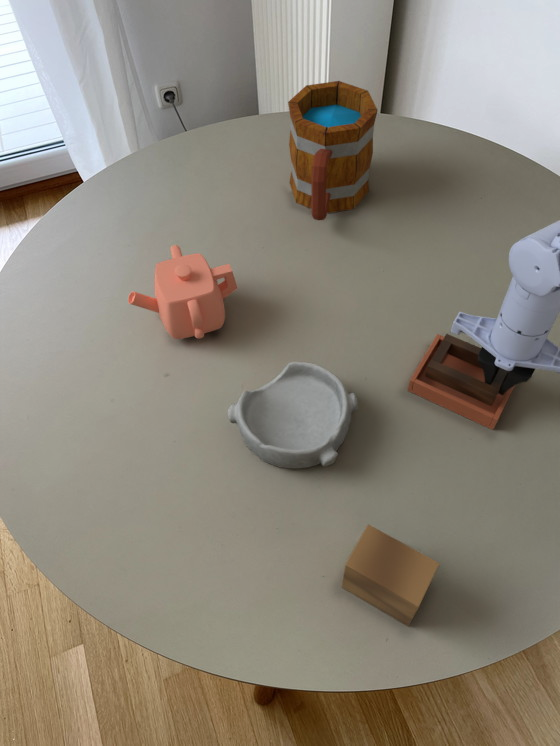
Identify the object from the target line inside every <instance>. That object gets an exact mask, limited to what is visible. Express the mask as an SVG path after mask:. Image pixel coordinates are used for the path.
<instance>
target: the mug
mask: <svg viewBox="0 0 560 746" xmlns="http://www.w3.org/2000/svg"><path fill="white" fill-rule="evenodd" d="M287 104H288V111H289V120H290V121H289V124H290V125H289V126H290V127H289V129H290V131H289V142H288V146H289V147H288V148H289V156H290V175H289V176H290V177H289V185H290V189H291V191H292V195H293V198H294V201H295V203H296V204H298V205H301V206H303V207H305V208H308V209H310V210H311V212H310V213H311V218H313V220H316V221H324V220H325V219H326V218H327V216H328V214H330V213H336V212H337V213H338V212H342V211H350V210H354V209H355V208H356V207H357V206H358V205H359V204H360V202H361V201H362V200H363V199H364V198H365V197H366V196H367V194H368V193H369V192H370V182H369V180H370V178H369V177H370V170H371V164H372V159H373V154H374V131H375V130H374V129H375V122H376V118H377V114H378V108H377V105H376V104H375V101H374V99H373V98H372V95H371V94H370V91H369V90H367V89H364V88H362V87H358V86H356V85H352V84H349V83H346V82H344V81H341V80H336V81H328V82H321V83H314V84H307V85H305V86H304V87H303V88H302V89H300V90H299V92H297V93H296V94H295V95H294V96H293V97H292V98H290V100H289V101H287Z"/></svg>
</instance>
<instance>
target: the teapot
mask: <svg viewBox="0 0 560 746" xmlns="http://www.w3.org/2000/svg"><path fill="white" fill-rule="evenodd" d="M170 253H171V258H169V259H166V260H163V261H159V262H157V263H156V264H155V269H154V295H155V296H154V297H153V296H149V295H146V294H143V293H140V292H137V291H130V293H129V295H128V297H127V303H128V304H129V305H132V306H135V307H138V308H141V309H145V310H148V311H150V312H154V313H158V316H159V318H160V320H161V322H162V323H161V324H162V325H163V327H164V328H165V330H166V332H167V333H168V335H169V336H170V337H171V338H173V339H174V340H181V339H186V338H191V337H195V338H196V339H202V338H204V337H205V334H206V333H207V334H208V333H210V332H214V331H217V330H219V329H221V328H222V327H223V325H224V323H225V320H226V310H225V309H226V308H225V303H224V299H226V298H227V297H228V296H229V295H231V294H232V293H234V292H236V290H238V289H239V288H238V284H237V282H236V278H235V274H234V271H233V269H232V267H231V264H230V263H227V264H223V265H220V266H215V267H210V265H209V263H208V261H207V259H206V258H205V256H204V255H203V254H202V253H200V252H198V253H191V254H186V255H183V253H182V249H181V247H180V246H179V245H178V244H173V245H172V246H171V247H170ZM223 278H224V280H223V281H222V282H219V283H218V280H220V279H223Z"/></svg>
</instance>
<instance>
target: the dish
mask: <svg viewBox="0 0 560 746" xmlns="http://www.w3.org/2000/svg"><path fill="white" fill-rule="evenodd" d="M357 410H358V400H357V396H356V394H355V393H354V392H350V393H349V392H348V391H347V389H346V387H345V385H344V384H343V382H342V381H341V379H339V378H338V376H336V374H334V373H333V372H331V371H330V370H328V369H327V368H325V367H323V366H321V365H318V364H315V363H311V362H305V361H303V362H302V361H290V362H289V363H288V364H287V365H285V367H284V368H283V370H282V371H281V372H280V373H279V374H278V375H276V376H275V378H273V379H272V380H271V381H268V383H266V384H264V385H262V386H260V387H259V388H256V389H252V390H244V391H242V393H241V395H240V396H239V398H238V401H237V402H236V403H231V404H230V405H229V407H228V408H227V418H228V420H229V423H231V424H236V425H237V427H238V430H239V433H240V435H241V437H242V440H243V442H244V443H245V445H246V446H247V448H248V449H249V450H250V451H251V452H252V454H254V455H255V456H256V457H257V458H258V459H260V460H262V462H265V463H267V464H270V465H272V466H275V467H279V468H282V469H283V468H285V469H305V468H311V467H314V466H318V465H319V464H321V465H322V466H323V467H327V466H330V465H333V464H334V463H335V462H336V459H337V457H338V455H339V453H338V451H337V450H338V449H339V448H340V446H342V444H343V442H344V440H345V439H346V436H347V434H348V431H349V429H350V425H351V419H352V413H353V412H356V411H357Z"/></svg>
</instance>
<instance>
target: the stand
mask: <svg viewBox="0 0 560 746" xmlns="http://www.w3.org/2000/svg"><path fill="white" fill-rule="evenodd" d="M439 566H440V562H438V561H436V560H435V559H433V558H431V557H429V556H427V555H425V554H424V553H422V552H420V551H418V550H416V549H415V548H413V547H410V546H409V545H407V544H405V543H403V542H402V541H400V540H398V539H396V538H394V537H393V536H391V535H389V534H387V533H385V532H383V531H381V530H380V529H378V528H376V527H374V526H372V525H371V524H367V525H366V527H365V529H364V530H363V532H362V534H361V536H360V538H359V539H358V540H357V543H356V545H355V546H354V548H353V550H352V551H351V554H350V556H349V557H348V559H347V561H346V563H345V565H344V572H343V577H342V583H341V588H342V589H344V590H345V591H347V592H348V593H350V594H352V595H354V596H355V597H356V598H359V599H360V600H362V601H364V602H365V603H367V604H369V605H370V606H372V607H374V608H376V609H378V610H379V611H381V612H383V613H384V614H386V615H388V616H389V617H391V618H393V619H394V620H396V621H398V622H399V623H401V624H403V625H404V626H406V627H410V625H411V623H412V621H413V619H414V617H415V616H416V614H417V612H418V610H419V608H420V606H421V604H422V602H423V600H424V597H425V596H426V593H427V592H428V590H429V587H430V586H431V583H432V581H433V578H434V577H435V575H436V572H437V570H438V569H439Z"/></svg>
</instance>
